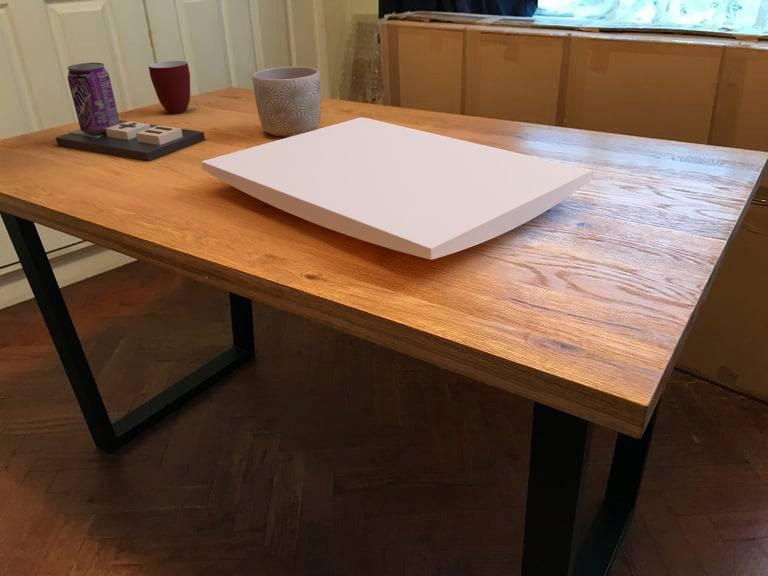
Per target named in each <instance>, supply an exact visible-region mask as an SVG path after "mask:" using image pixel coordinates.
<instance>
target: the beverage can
mask: <svg viewBox="0 0 768 576" xmlns="http://www.w3.org/2000/svg"><path fill="white" fill-rule="evenodd" d="M67 71H68V74H67V82H68V86H69V90H70V93H71V97H72V101H73V106H74V109H75V113H76V117H77V121H78V124H79V129H81V131H83V132H86V133H88V134H91V135H101V134H107V133H106V128H109V127H112V126H115V125H118V124H120V121H119V120H120V116H119V112H118V109H117V104H116V99H115V95H114V90H113V86H112V82H111V77H110V74H109V72H108V71H107V69H106V68H105V64H104V62H82V63H77V64H72V65H69V66H67Z"/></svg>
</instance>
